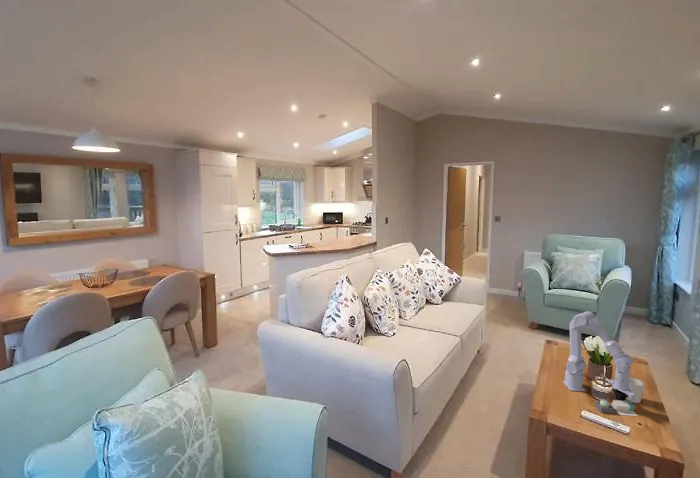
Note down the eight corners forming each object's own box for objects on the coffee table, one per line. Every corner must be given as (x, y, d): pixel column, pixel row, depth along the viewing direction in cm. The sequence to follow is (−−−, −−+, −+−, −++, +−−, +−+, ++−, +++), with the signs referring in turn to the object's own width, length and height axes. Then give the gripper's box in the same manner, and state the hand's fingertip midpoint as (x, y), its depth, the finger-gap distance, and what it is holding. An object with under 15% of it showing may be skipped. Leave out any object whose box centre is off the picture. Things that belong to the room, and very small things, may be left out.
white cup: (644, 405, 183) (646, 386, 182) (625, 401, 186) (626, 383, 185) (639, 397, 190) (641, 379, 189) (621, 393, 193) (622, 376, 192)
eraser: (615, 410, 179) (617, 405, 177) (611, 405, 182) (613, 400, 181) (632, 411, 178) (634, 406, 177) (628, 405, 181) (630, 401, 180)
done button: (597, 404, 182) (598, 399, 182) (606, 405, 182) (606, 399, 181) (602, 409, 178) (602, 404, 178) (611, 410, 178) (611, 404, 177)
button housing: (594, 405, 183) (594, 400, 183) (607, 406, 183) (607, 401, 182) (601, 412, 178) (601, 407, 177) (614, 413, 177) (614, 408, 176)
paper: (610, 405, 183) (610, 405, 183) (627, 406, 182) (627, 406, 182) (620, 415, 175) (620, 414, 175) (637, 416, 174) (638, 415, 174)
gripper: (603, 371, 187) (601, 396, 189) (626, 386, 173) (623, 412, 175) (616, 371, 188) (614, 395, 189) (640, 386, 173) (637, 412, 175)
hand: (619, 403), depth 182 cm, fingers closed
